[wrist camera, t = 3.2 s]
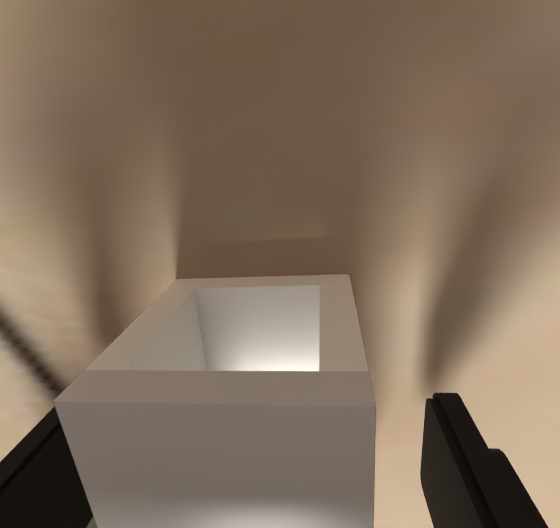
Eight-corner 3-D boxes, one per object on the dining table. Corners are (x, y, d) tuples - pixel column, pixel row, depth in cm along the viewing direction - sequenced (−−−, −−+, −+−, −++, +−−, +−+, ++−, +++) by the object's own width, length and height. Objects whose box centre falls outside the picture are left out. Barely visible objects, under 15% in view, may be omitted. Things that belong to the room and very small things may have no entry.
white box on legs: (177, 278, 10) (53, 401, 6) (348, 272, 10) (376, 406, 5) (213, 478, 13) (150, 679, 8) (350, 484, 13) (369, 705, 8)
